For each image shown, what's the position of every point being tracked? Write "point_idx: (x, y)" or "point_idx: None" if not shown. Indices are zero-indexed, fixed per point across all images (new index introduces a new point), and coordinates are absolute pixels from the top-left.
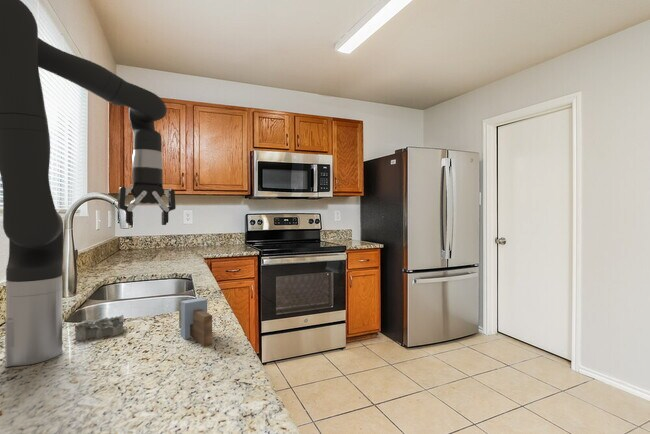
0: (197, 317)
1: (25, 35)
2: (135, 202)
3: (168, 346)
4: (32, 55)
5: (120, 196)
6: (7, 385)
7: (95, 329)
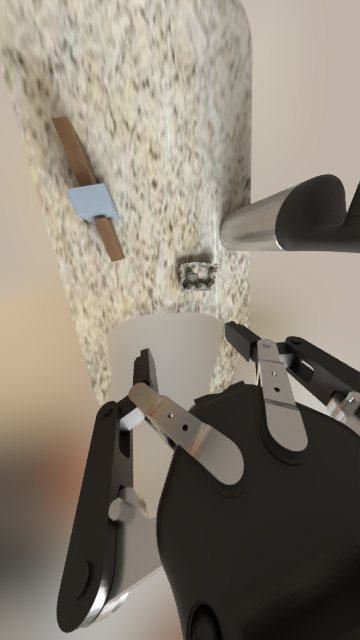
0: (86, 164)
1: None
2: (273, 364)
3: (131, 186)
4: None
5: (352, 369)
6: (250, 164)
7: (201, 266)
